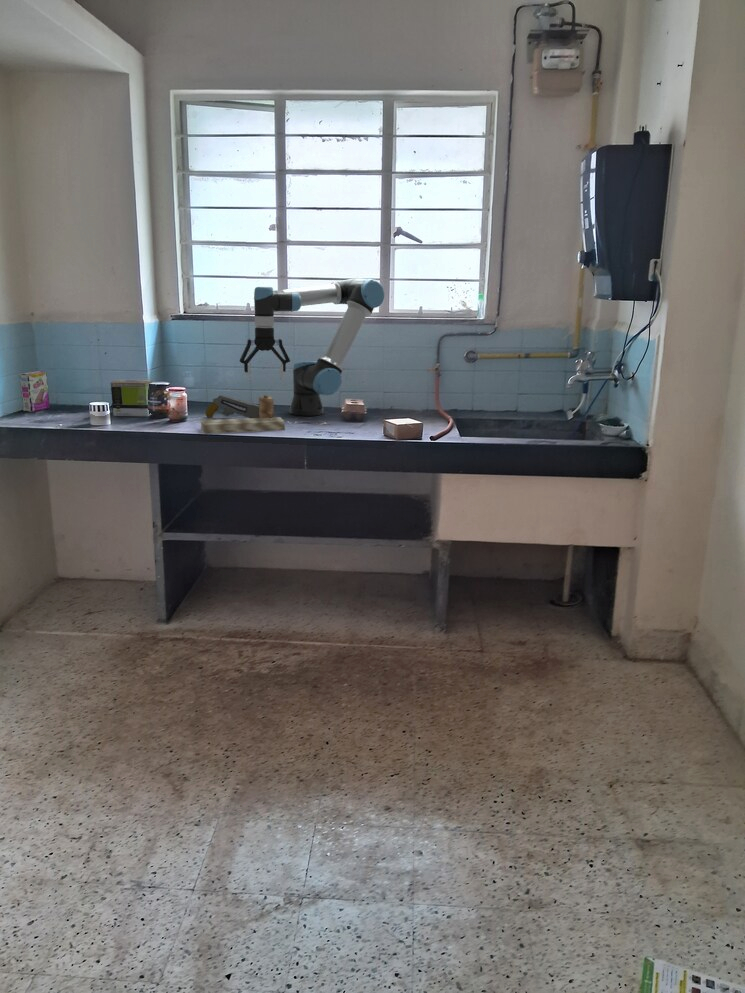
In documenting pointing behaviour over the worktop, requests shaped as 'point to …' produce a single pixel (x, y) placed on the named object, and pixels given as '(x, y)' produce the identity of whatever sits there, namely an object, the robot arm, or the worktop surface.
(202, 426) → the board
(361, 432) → the worktop surface
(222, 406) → the gun
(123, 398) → the tea box
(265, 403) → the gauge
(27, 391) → the candy bar box
